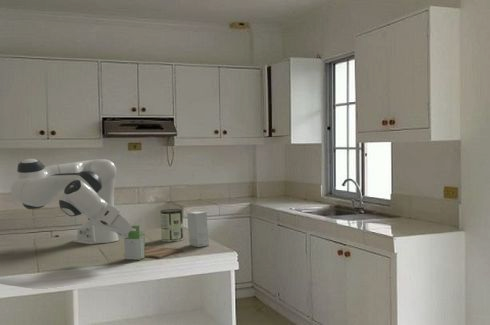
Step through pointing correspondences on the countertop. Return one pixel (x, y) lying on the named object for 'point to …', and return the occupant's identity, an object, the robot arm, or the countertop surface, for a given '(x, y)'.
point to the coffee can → (171, 225)
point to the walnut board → (160, 252)
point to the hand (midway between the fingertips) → (125, 236)
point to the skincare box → (198, 229)
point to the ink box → (134, 245)
